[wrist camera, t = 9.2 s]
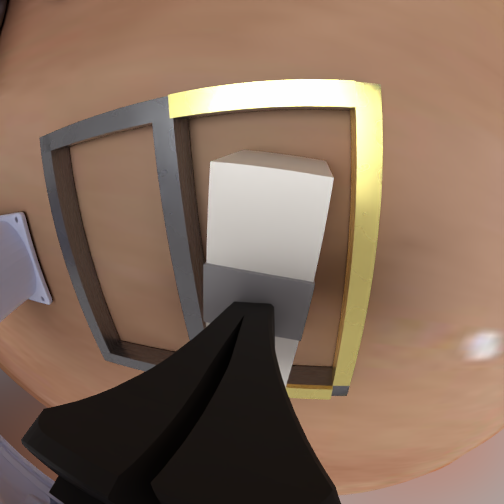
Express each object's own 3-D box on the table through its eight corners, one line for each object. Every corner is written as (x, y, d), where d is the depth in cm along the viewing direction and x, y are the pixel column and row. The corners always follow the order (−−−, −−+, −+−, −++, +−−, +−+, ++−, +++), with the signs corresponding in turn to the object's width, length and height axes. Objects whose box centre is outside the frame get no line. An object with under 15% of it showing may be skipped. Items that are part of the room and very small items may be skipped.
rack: (114, 347, 19) (103, 362, 18) (57, 134, 13) (35, 138, 11) (346, 377, 16) (346, 399, 14) (372, 89, 9) (382, 83, 8)
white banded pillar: (231, 315, 16) (204, 376, 12) (243, 149, 12) (207, 162, 8) (294, 327, 15) (285, 393, 11) (326, 160, 11) (335, 178, 7)
